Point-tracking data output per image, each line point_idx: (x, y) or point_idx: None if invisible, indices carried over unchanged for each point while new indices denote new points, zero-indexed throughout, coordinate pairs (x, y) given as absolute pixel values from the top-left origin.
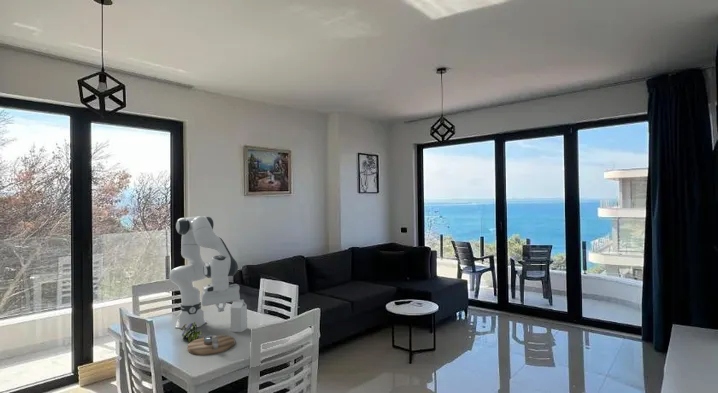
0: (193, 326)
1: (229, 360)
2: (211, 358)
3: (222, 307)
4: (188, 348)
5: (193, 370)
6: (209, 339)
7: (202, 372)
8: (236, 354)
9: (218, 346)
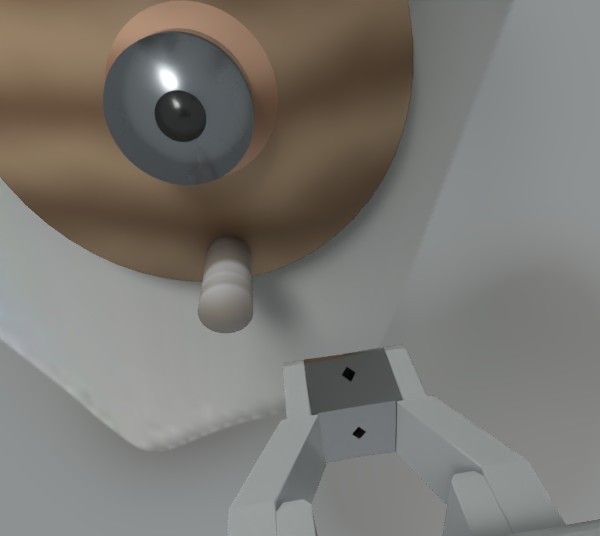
0: None
1: None
2: None
3: (400, 431)
4: None
5: (119, 406)
6: (172, 180)
7: (167, 432)
8: (353, 306)
9: (254, 228)
